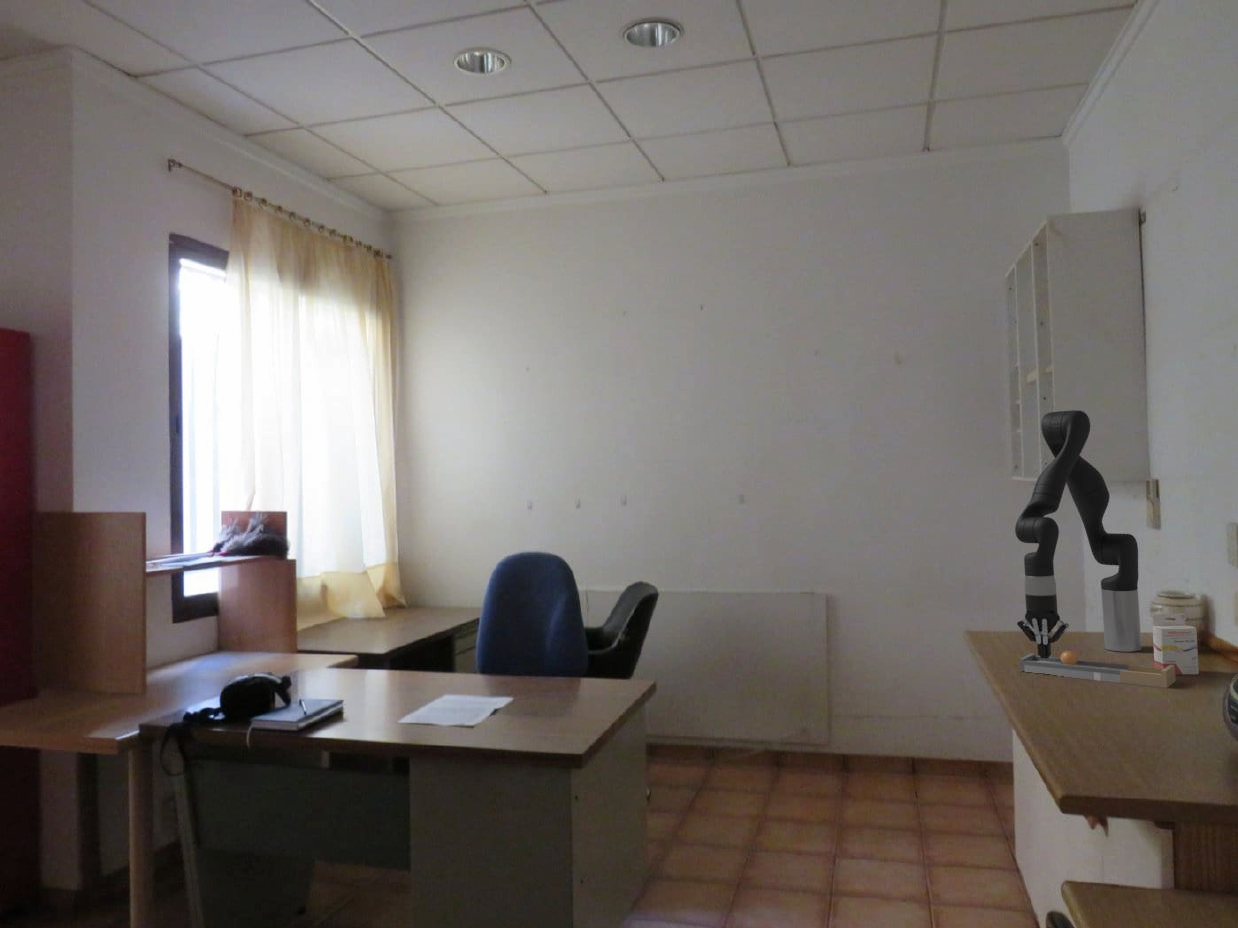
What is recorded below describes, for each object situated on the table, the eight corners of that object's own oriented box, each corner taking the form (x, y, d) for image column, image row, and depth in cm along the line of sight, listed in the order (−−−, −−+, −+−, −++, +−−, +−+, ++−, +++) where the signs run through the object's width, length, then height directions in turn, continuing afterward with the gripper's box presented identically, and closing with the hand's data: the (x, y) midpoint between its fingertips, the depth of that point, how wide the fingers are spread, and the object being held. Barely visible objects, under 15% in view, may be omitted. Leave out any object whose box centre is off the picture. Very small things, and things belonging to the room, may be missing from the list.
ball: (1064, 663, 235) (1063, 648, 236) (1080, 665, 233) (1079, 649, 233) (1058, 666, 233) (1057, 651, 233) (1075, 668, 230) (1074, 652, 230)
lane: (1032, 666, 243) (1031, 651, 243) (1175, 681, 219) (1174, 664, 219) (1020, 671, 237) (1019, 656, 238) (1166, 687, 214) (1165, 671, 214)
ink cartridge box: (1164, 675, 226) (1160, 616, 226) (1154, 671, 231) (1150, 613, 231) (1200, 674, 225) (1196, 615, 225) (1189, 669, 230) (1185, 612, 230)
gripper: (1072, 591, 235) (1076, 657, 235) (1020, 589, 245) (1024, 652, 244) (1061, 595, 230) (1066, 663, 230) (1009, 592, 239) (1013, 657, 239)
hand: (1044, 657), depth 237 cm, fingers closed
